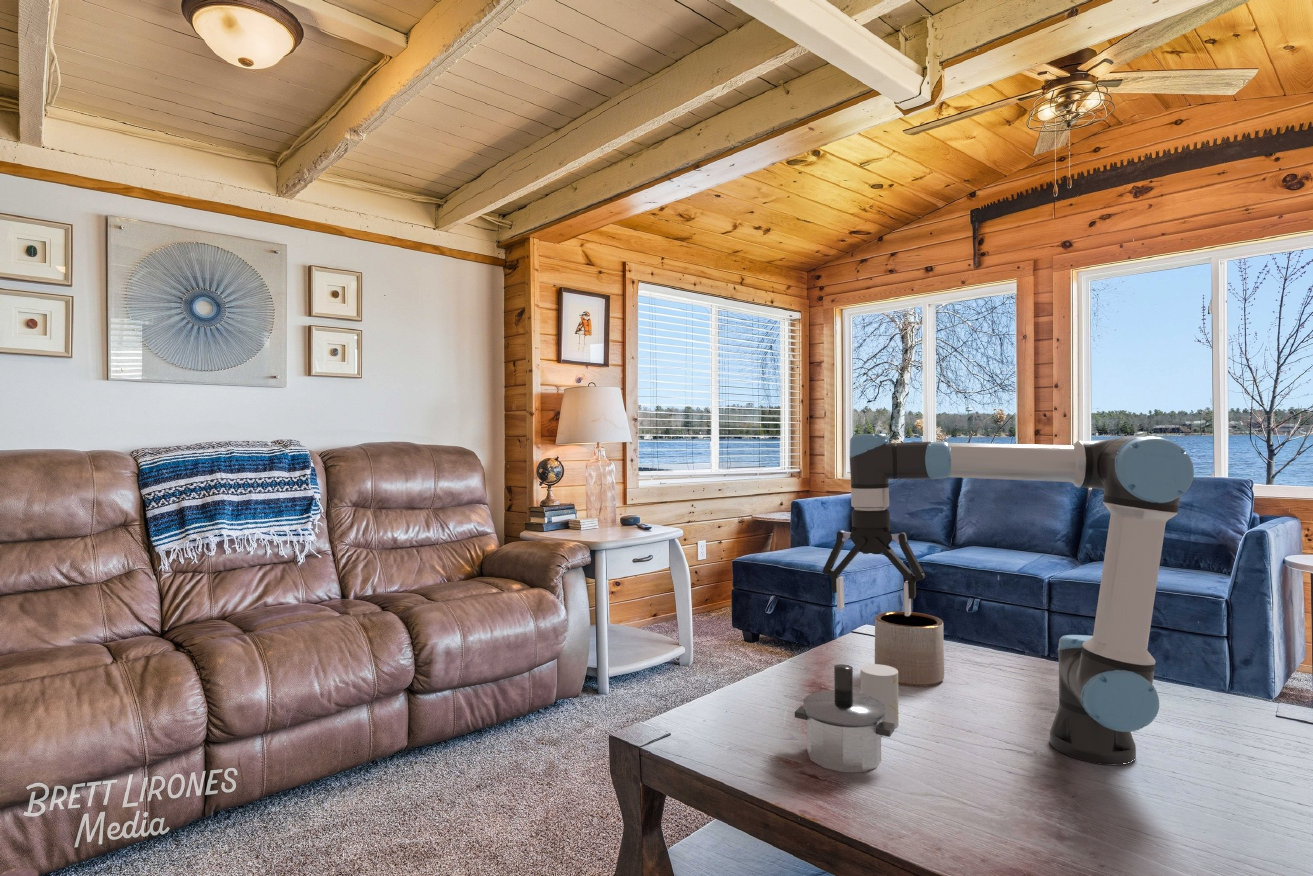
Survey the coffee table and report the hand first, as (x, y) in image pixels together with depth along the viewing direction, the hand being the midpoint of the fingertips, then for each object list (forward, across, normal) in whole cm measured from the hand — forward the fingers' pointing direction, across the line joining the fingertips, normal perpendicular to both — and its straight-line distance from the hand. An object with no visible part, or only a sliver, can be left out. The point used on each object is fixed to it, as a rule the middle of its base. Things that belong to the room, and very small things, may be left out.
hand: (873, 611), depth 146 cm
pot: (+28, +6, +6) cm, 30 cm away
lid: (+20, +5, +6) cm, 21 cm away
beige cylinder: (+29, +3, -15) cm, 33 cm away
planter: (+29, +3, -51) cm, 59 cm away
